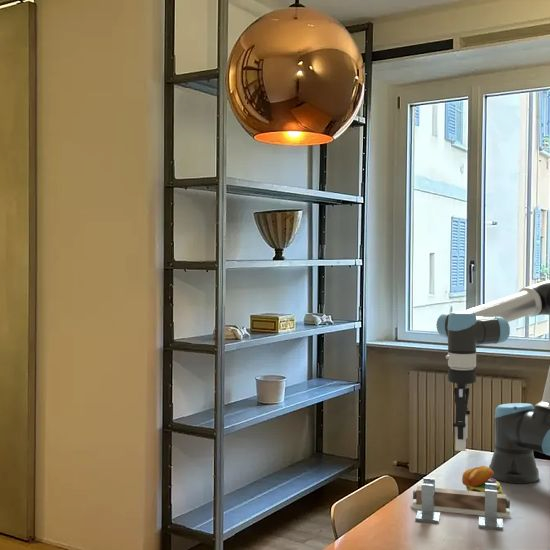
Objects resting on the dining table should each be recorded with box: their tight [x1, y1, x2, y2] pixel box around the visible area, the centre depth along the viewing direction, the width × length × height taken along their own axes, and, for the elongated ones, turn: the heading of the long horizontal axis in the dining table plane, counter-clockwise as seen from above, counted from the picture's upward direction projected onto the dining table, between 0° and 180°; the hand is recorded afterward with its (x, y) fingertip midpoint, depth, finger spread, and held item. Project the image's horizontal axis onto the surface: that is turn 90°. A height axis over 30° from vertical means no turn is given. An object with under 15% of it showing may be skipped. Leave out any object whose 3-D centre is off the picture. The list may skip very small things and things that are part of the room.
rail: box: [412, 485, 511, 513], centre depth 202 cm, size 26×4×4 cm, turn 73°
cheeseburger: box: [461, 465, 504, 494], centre depth 211 cm, size 10×11×10 cm
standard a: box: [415, 476, 441, 524], centre depth 194 cm, size 6×6×10 cm
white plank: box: [411, 499, 511, 519], centre depth 201 cm, size 26×7×1 cm, turn 73°
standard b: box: [478, 483, 504, 531], centre depth 189 cm, size 6×6×10 cm
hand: (461, 444), depth 201 cm, fingers open, 13 cm apart
